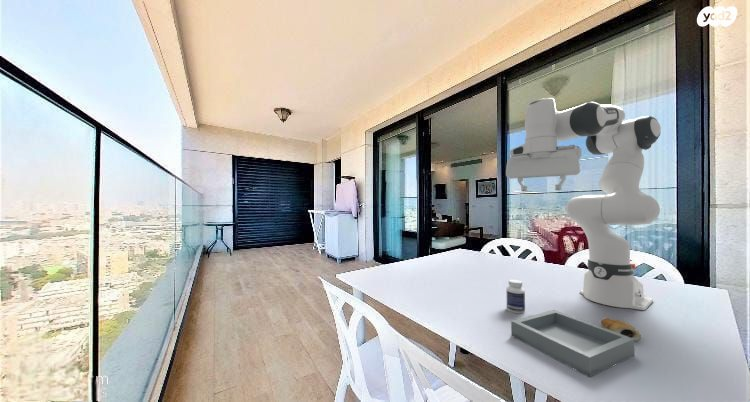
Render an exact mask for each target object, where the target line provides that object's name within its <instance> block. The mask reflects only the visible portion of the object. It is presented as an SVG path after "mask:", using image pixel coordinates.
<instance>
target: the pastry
mask: <svg viewBox="0 0 750 402" xmlns="http://www.w3.org/2000/svg"><path fill="white" fill-rule="evenodd" d="M600 323H601V327H603V328H606V329H608V330H611V331H614V332H617V333H619V334H622V335H625V336H628V337H630V338H633V339H634V342H637V341H640V340H641V338H642V335H641V333H640V332H639V330H638V329H636V328H635V327H633V326H632V325H631V324H629V323H627V322H624V321H622V320H619V319H611V318H609V317H608V318H606V317H605V318H603V319H601V320H600Z"/></svg>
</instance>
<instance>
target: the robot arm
mask: <svg viewBox="0 0 750 402" xmlns="http://www.w3.org/2000/svg"><path fill="white" fill-rule="evenodd" d="M525 109H526V111H525V115H524V130H525V135H526V136H525V138H524V139H525V140H524V144H521V145H519V146H517V147H514V148H512V149H510V150H509V156H510V157H509V158H508V159H507V162H506V166H505V167H506V169H505V177H506V178H507V179H510V180H512V179H513V180H515V179H517V182H518V184H519V186H520V187H521V189H520V190H521V192H528V185H525V184H524V183H523V182H524V179H529V178H530V179H531V178H533V179H534V178H548V177H559V179H560V181H559V183H558V184H555V185H554V186H555V191H562V189H563V188H562V185H563V184H564V183H565V181H566V180H567V176H577V175H579V174H580V172H581V167H580V166H581V165H580V160H579V159H580V158H581V156H582V148H581V147H580V146H578V145H575V144H569V145H561V146H560V145H559V146H558V142H564V141H567V140H568V141H569V140H574V139H577V138H583V137H586V138H585V147H586V149H587V151H588V152H589V153H590V154H592V155H597V156H599V155H605V154H612V156H610V159H608V161H607V163H606V165H605V167H604V169H603V171H602V174H601V176H600V179H599V181H598V186H599V188H600V190H601V191H602V192H603V193H605V194H585V195H579V196H574V197H572V198H571V199H569V200H568V202H567V204H566V207H565V209H566V214H567V216H568V217H569V219H570V220H572V221H573V222H575V223H576V224H577V225H579V227H580V228H581V229H582V230H583V232H584V234H585V236H586V239H587V244H588V245H587V246H588V260H587V263H586V264H587V265H586V266H587V269H588V271H586V272H585V273H584V276H583V287H582V289H579V294H581V295H583V296H584V298H585V299H587V300H588V301H592V302H595V303H597V304H601V305H604V306H605V305H606V306H609V307H615V308H622V309H634V310H640V311H645V310H647V308H648V307H649V306H650V305H651V304H652V303H653V302H654V299H653V298H652V297H650V296H646V295H645V294H644V284H643V283H642V282H641V281H640V280H639V279H637V277H636V276H634V273H635V272H634V270H636V269H637V267H636V263H631V254H630V253H631V246H630V242H628V240H627V239H625V238H624V237H623V236H621V235H618V234H616V233H614V232H613V231H612V230H611V229H610V227H609V225H616V226H617V225H619V226H620V225H621V226H640V225H649V224H652V223H654V222H655V221H656V220H657V219H658V217H659V216H660V213H661V208H660V205H659V202H658V201H657V200H656V199H655V198H654V197H653V196H651V195H648V194H646V193H644V192H642V191H641V189H640V181H641V178H642V175H643V173H644V168H645V156H644V154H643V150H645V151H647V150H649V149H650V148H651V147H652V145H654V144H655V143H656V141H657V140H658V139H659V138H660V135H661V129H662V128H661V124H660V123H659V121H658V119H657V118H655V117H653V116H652V115H646V116H640V117H639V116H638V117H637V118H635V119H634V118H633V119H628V120H625V118H626V117H625V116H626V114H625V111H624V109H622V108H621V107H620V106H618V105H614V104H613V105H612V104H600V103H598V102H595V101H588V102H585V103H583V104H579V105H578V106H575V107H574V106H573V107H572V108H569V109H568V108H567V109H566V110H565V109H564V110H562V111H559V110H557V108H556V102H555V99H554V98H553V97H544V98H540V99H537V100H535V101H532V102H530V103H529V104H528V105H527V107H526V108H525Z"/></svg>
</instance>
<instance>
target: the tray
mask: <svg viewBox="0 0 750 402" xmlns="http://www.w3.org/2000/svg"><path fill="white" fill-rule="evenodd" d="M510 325H511V326H510V336H511V337H513V338H515V339H516V340H519V341H520V342H522V343H524V344H526V345H527V346H530V347H532V348H533V349H536V350H537V351H539V352H541V353H543V354H545V355H546V356H548V355H549V357H550V356H551V357H550V358H553V359H554V360H557V361H558V362H561V363H562V364H564V365H565V364H566V366H567V365H568V366H567V367H569V366H570V367H569V368H571V369H573V368H574V369H573V370H575V369H576V370H575V371H577V372H579V373H581V374H583V375H584V374H585V376H586V375H587V377H588V378H591V377H593V376H596V375H597V374H600V373H601V372H604V371H606V370H608V369H611V368H613V367H614V366H613V365H615V364H617V363H619V364H621V363H623V362H625V361H627V360H630V359H632V358H633V357H635V341H634V339H633V338H630V337H628V336H625V335H622V334H619V333H617V332H614V331H611V330H608V329H606V328H603V326H599V325H597V324H594V323H592V322H589V321H585V320H583V319H581V318H578V317H574V316H572V315H569V314H567V313H564V312H561V311H558V310H555V309H551V310H547V311H544V312H539V313H536V314H532V315H529V316H525V317H521V318H517V319H514V320H511V321H510ZM617 365H618V364H617ZM612 366H613V367H612ZM615 366H616V365H615Z"/></svg>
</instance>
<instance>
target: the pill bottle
mask: <svg viewBox="0 0 750 402" xmlns="http://www.w3.org/2000/svg"><path fill="white" fill-rule="evenodd" d="M506 310H507V311H509V312H510V313H514V314H524V313H525V311H526V291H525V289H524V288H523V281H521V280H520V279H509V280H508V286H507V287H506Z"/></svg>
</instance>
